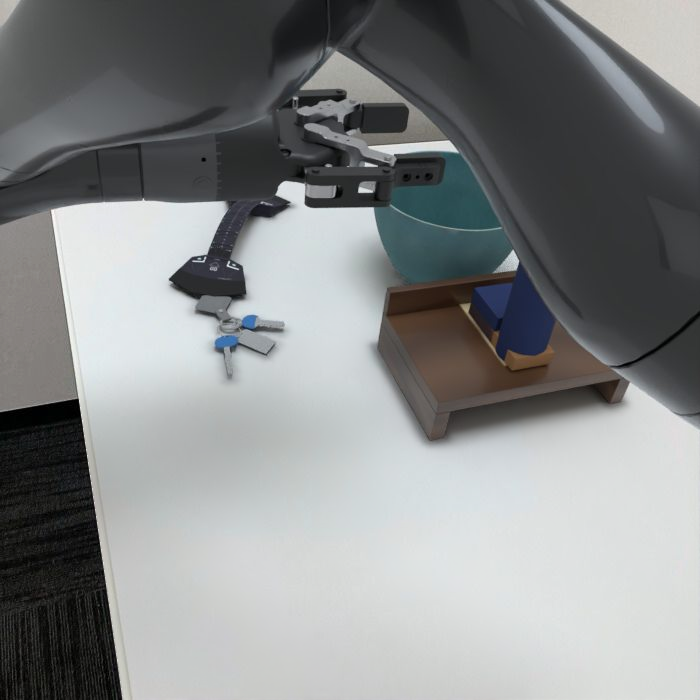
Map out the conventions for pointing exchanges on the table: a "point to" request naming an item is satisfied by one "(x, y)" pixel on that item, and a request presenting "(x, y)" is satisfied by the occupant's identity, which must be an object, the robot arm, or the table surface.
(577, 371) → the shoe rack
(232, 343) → the key chain
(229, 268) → the dark piece
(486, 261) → the teal bowl
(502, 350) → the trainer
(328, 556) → the table surface
